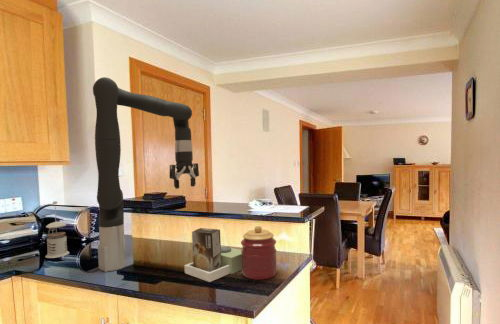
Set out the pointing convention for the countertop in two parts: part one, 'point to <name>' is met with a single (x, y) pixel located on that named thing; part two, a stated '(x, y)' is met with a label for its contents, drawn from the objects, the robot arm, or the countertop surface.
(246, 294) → the countertop surface
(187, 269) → the dome button panel
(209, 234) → the coffee box
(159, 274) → the countertop surface
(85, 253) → the countertop surface
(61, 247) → the french press
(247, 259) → the canister
